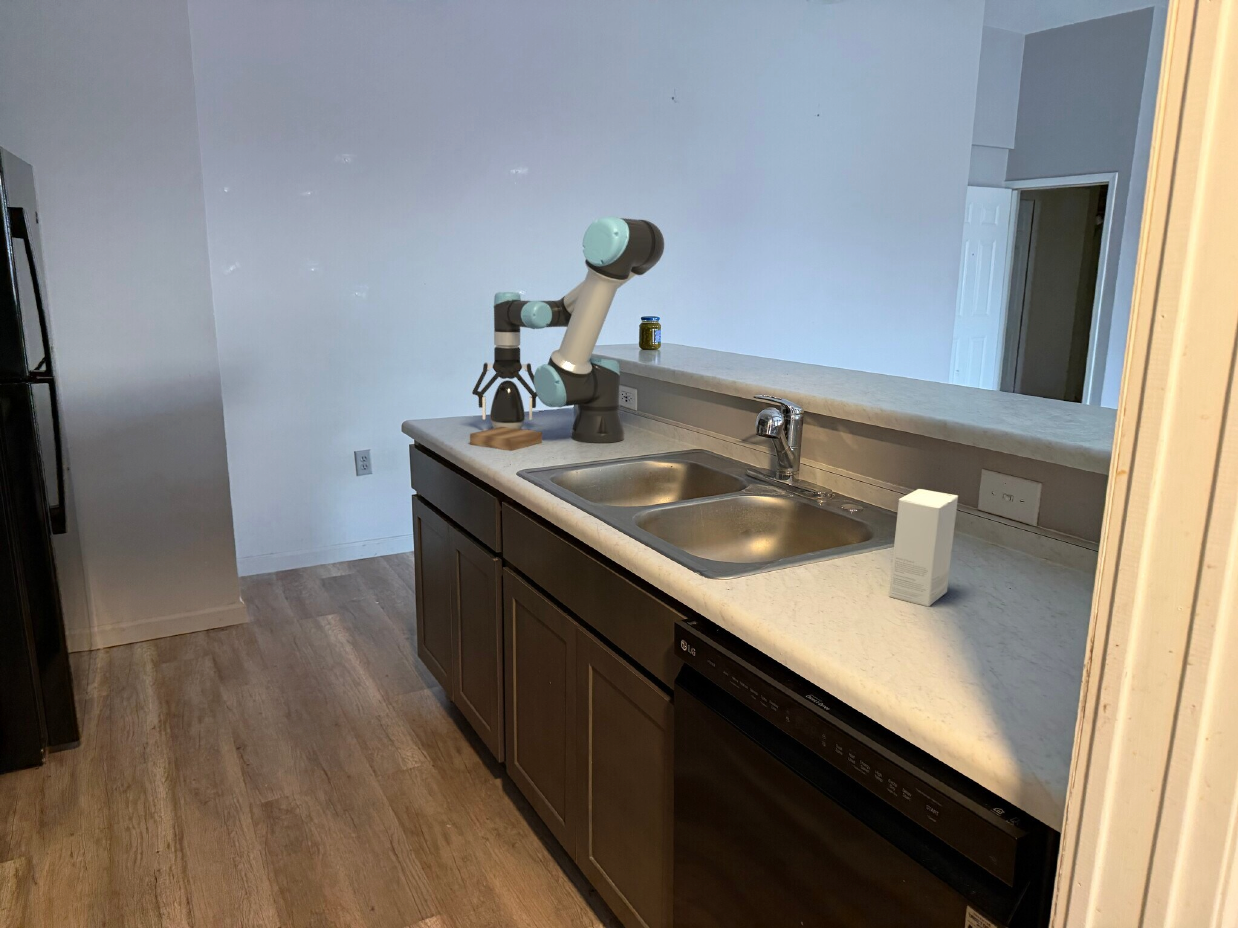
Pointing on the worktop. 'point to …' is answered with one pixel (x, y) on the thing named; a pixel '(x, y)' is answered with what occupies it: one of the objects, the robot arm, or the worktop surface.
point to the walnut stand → (506, 438)
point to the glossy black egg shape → (507, 406)
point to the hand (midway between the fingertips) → (507, 419)
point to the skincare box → (923, 546)
